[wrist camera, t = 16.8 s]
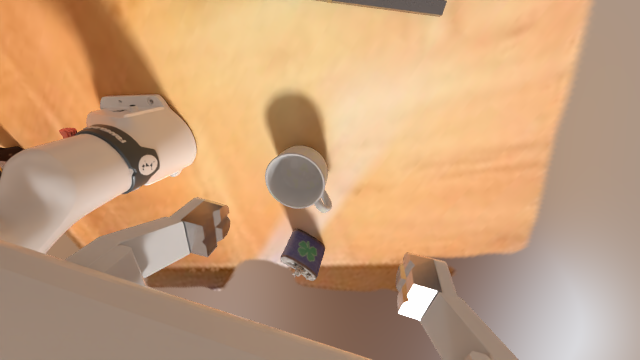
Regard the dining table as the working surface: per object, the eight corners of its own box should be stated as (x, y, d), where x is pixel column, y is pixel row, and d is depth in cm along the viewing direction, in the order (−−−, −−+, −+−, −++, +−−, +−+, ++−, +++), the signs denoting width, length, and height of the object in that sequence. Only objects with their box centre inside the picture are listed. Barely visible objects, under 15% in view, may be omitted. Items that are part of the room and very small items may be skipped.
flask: (291, 232, 57) (274, 267, 47) (297, 225, 55) (281, 260, 46) (321, 252, 58) (311, 290, 49) (328, 246, 56) (318, 284, 47)
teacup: (270, 154, 47) (252, 171, 40) (312, 128, 43) (300, 143, 36) (308, 205, 51) (297, 228, 45) (350, 186, 47) (345, 209, 40)
